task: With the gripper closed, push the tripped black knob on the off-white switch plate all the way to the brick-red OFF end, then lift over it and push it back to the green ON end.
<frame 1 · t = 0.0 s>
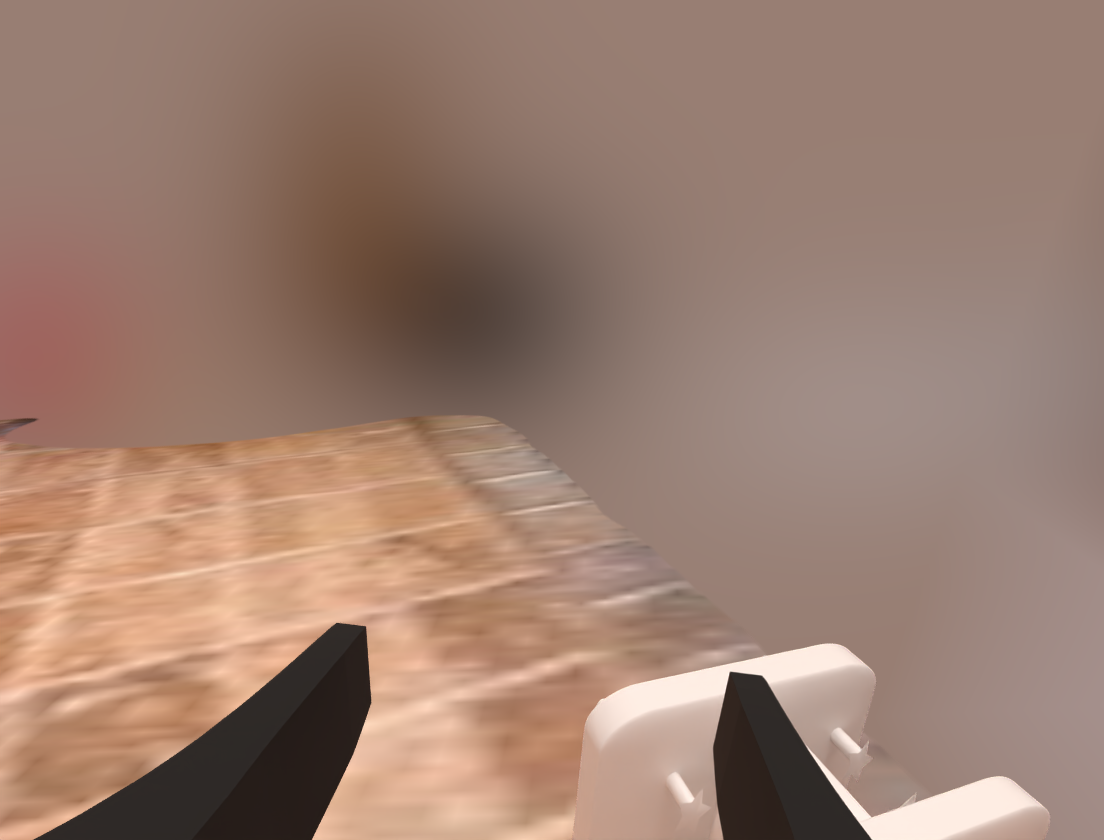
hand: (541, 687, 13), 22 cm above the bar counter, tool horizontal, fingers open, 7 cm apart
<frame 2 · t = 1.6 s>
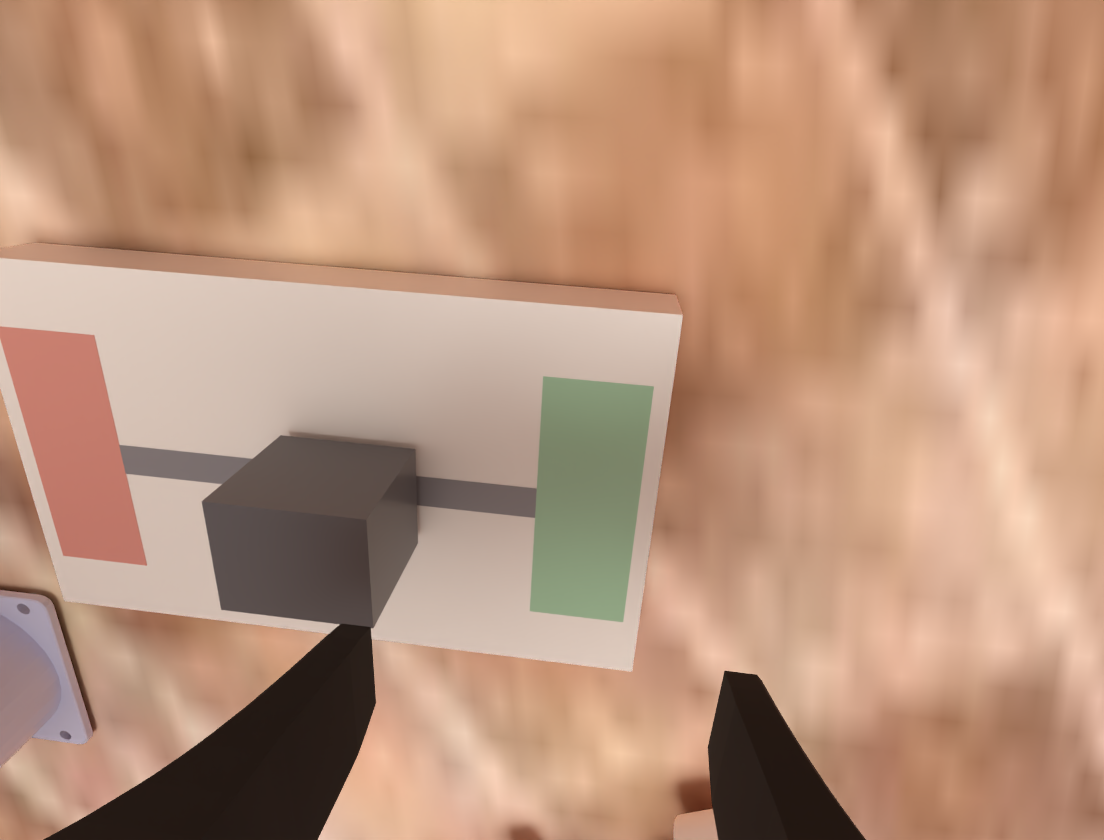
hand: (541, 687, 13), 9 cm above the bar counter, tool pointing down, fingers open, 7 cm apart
switch plate: (355, 445, 22), on the bar counter
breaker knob: (323, 524, 17), point 5 cm above the bar counter, slide at 3.0 cm
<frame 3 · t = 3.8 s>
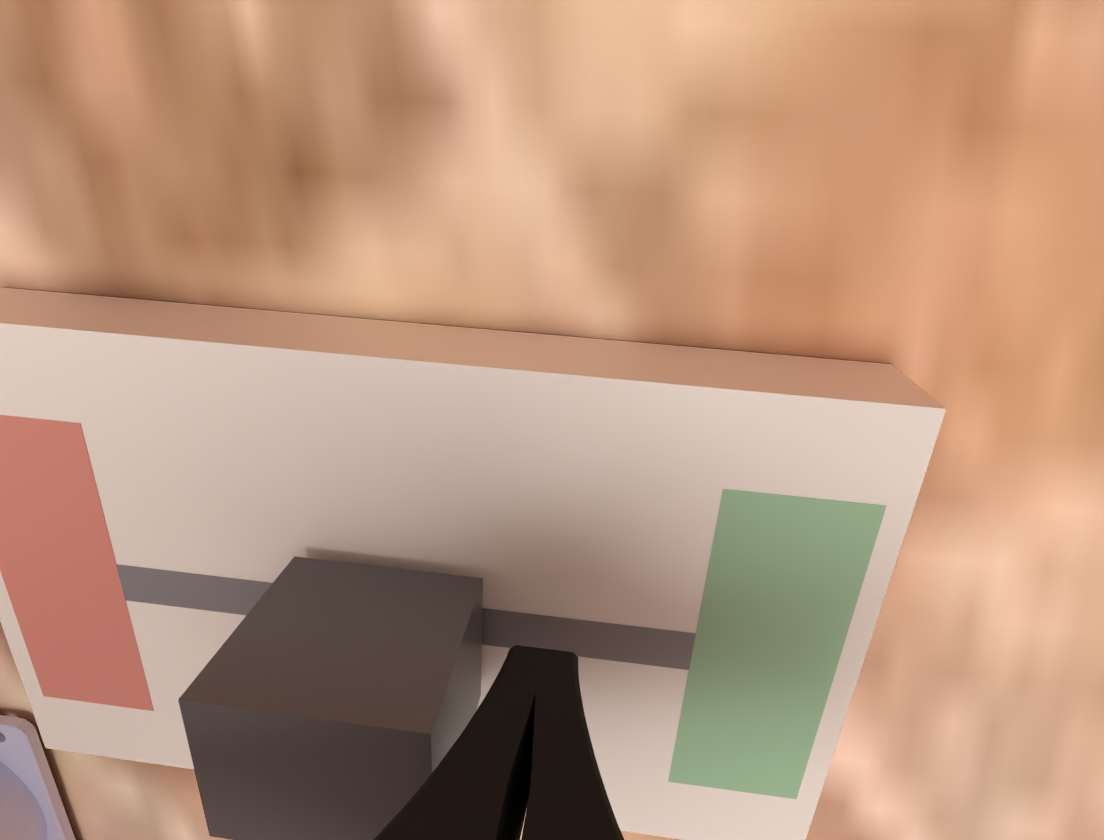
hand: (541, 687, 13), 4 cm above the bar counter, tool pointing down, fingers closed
switch plate: (428, 550, 17), on the bar counter
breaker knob: (357, 696, 12), point 5 cm above the bar counter, slide at 2.0 cm, touching gripper
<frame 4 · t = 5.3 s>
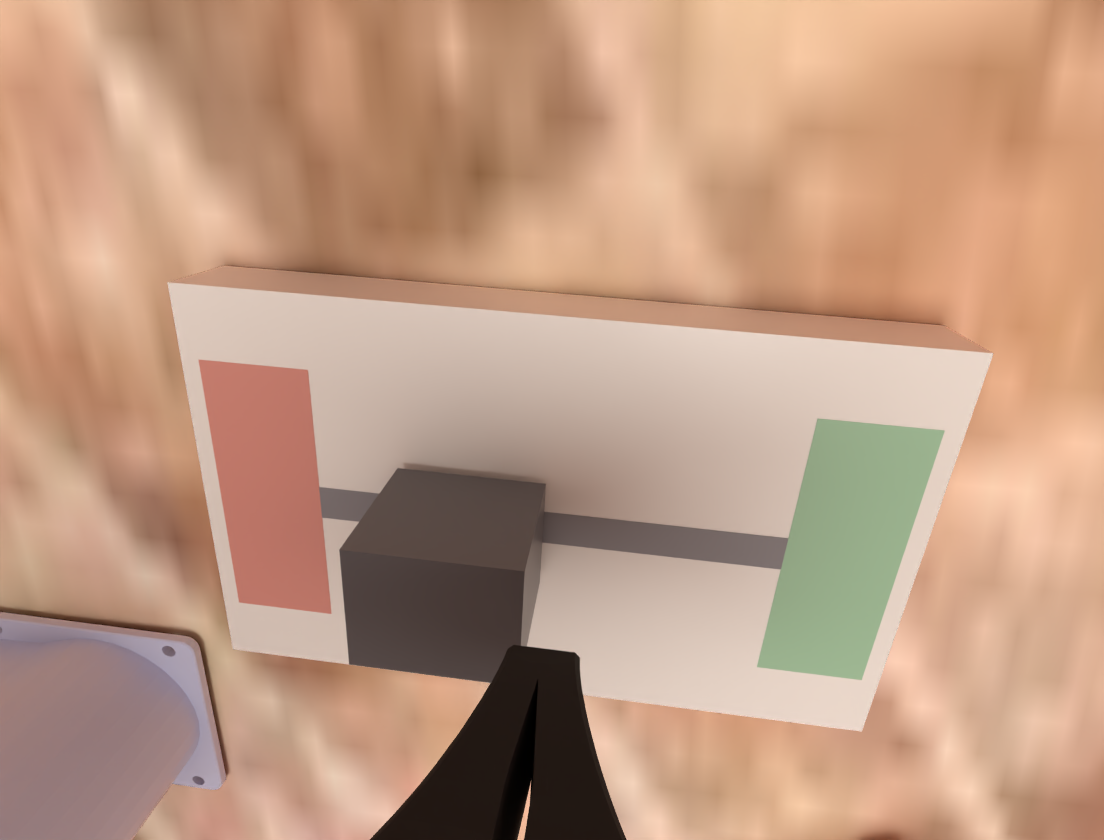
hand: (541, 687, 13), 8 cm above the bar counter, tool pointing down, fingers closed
switch plate: (555, 484, 20), on the bar counter
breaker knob: (453, 568, 16), point 5 cm above the bar counter, slide at -0.1 cm
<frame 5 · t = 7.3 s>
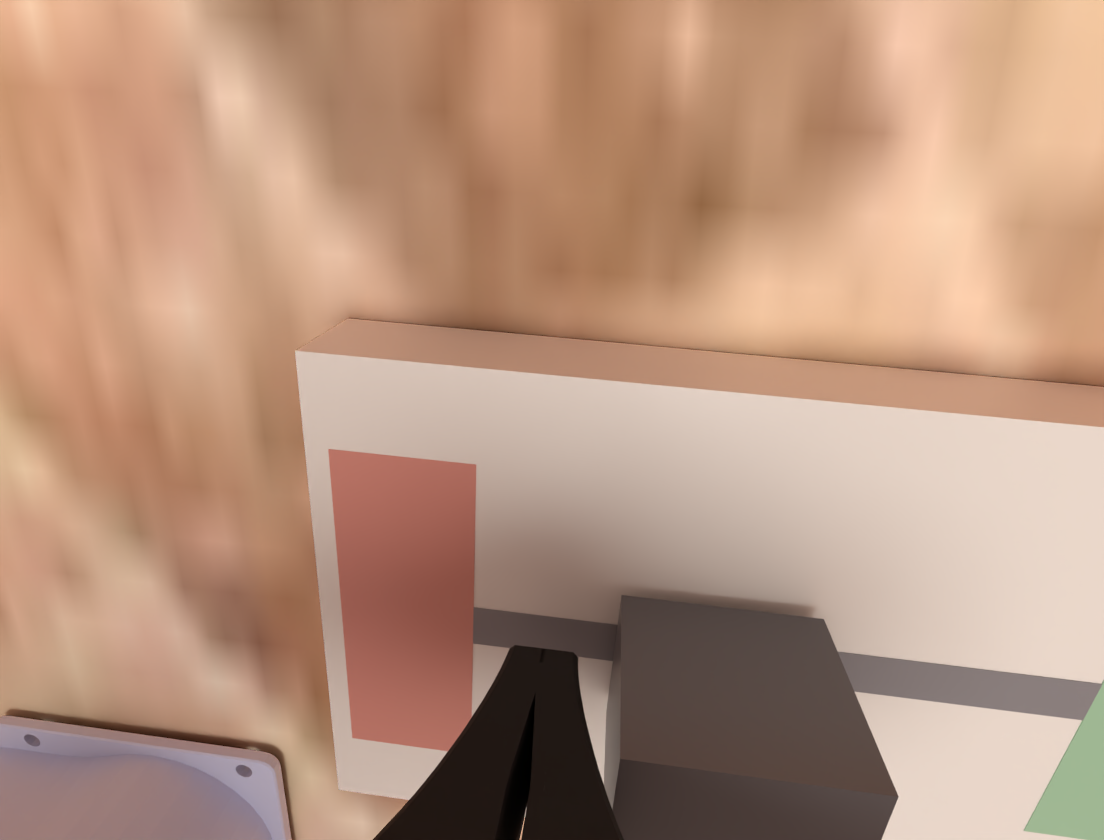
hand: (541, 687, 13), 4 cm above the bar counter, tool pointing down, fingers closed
switch plate: (751, 588, 16), on the bar counter
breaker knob: (721, 745, 12), point 5 cm above the bar counter, slide at 0.6 cm, touching gripper
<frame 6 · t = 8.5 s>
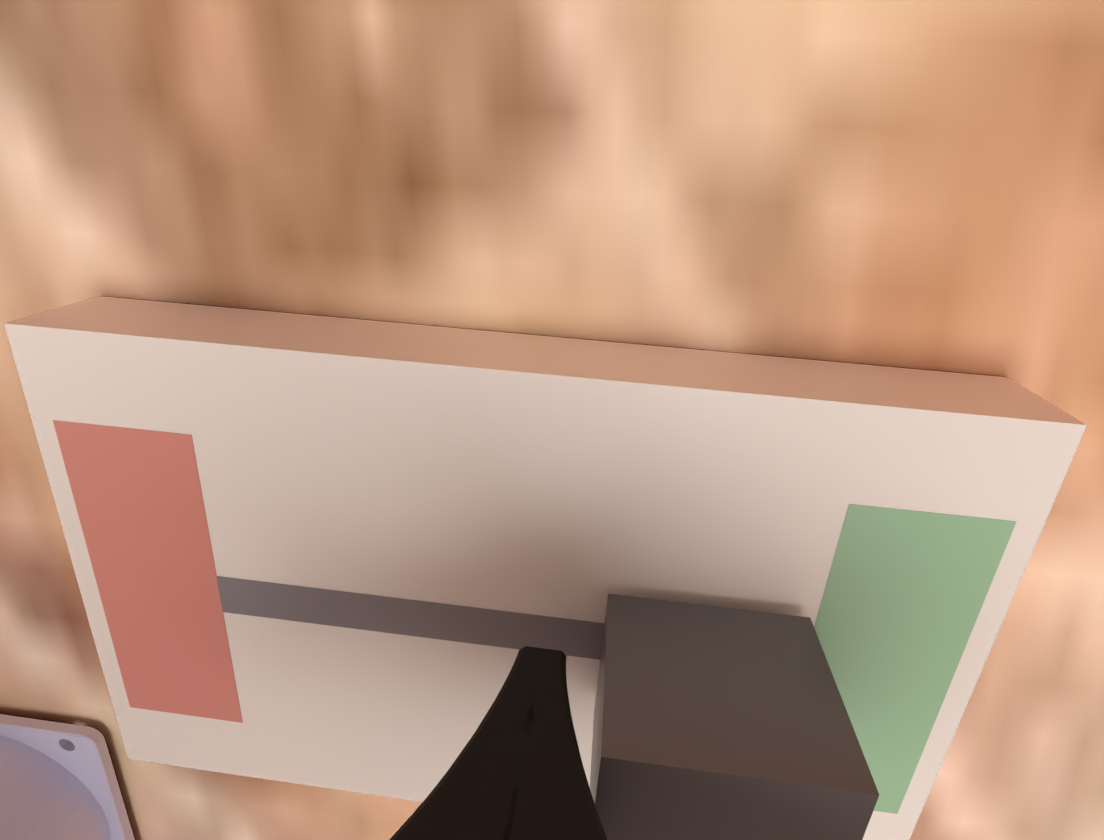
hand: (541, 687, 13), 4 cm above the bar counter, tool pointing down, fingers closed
switch plate: (519, 561, 16), on the bar counter
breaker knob: (706, 743, 12), point 5 cm above the bar counter, slide at 6.2 cm, touching gripper
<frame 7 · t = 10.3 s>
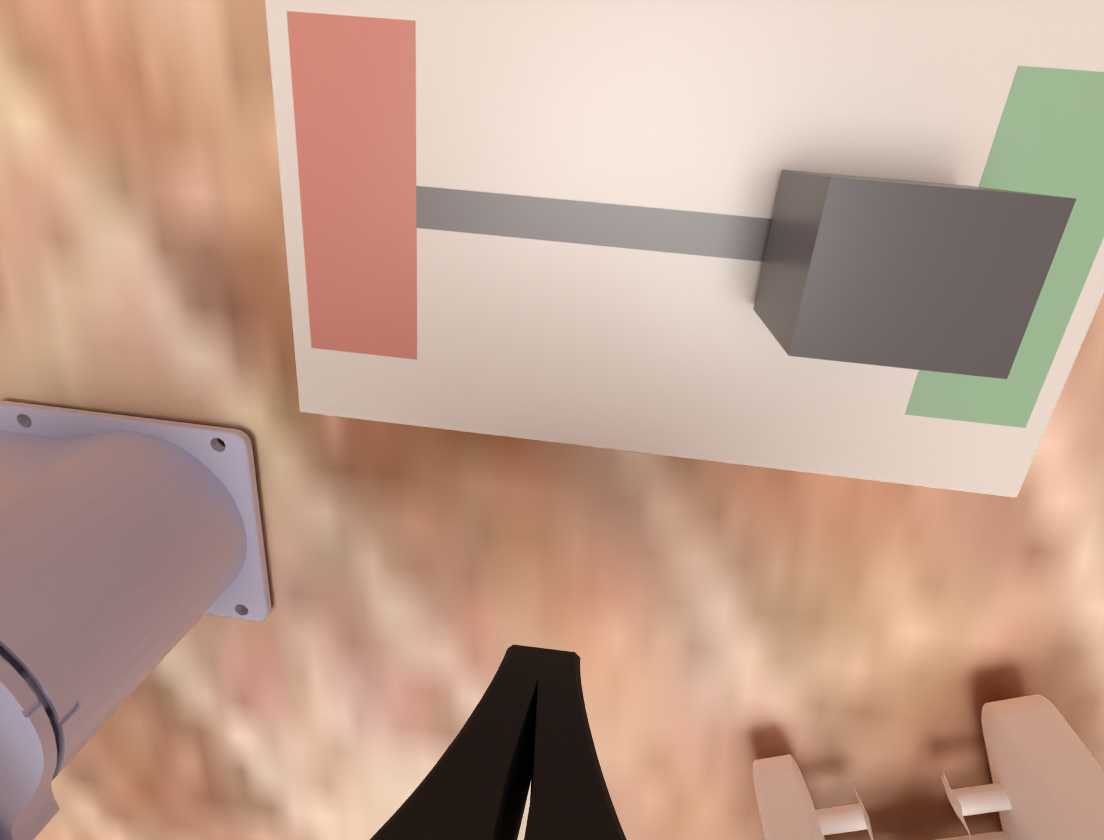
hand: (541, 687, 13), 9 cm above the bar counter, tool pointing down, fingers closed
cable organizer: (910, 814, 26), on the bar counter
switch plate: (671, 220, 18), on the bar counter
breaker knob: (884, 264, 13), point 5 cm above the bar counter, slide at 6.1 cm
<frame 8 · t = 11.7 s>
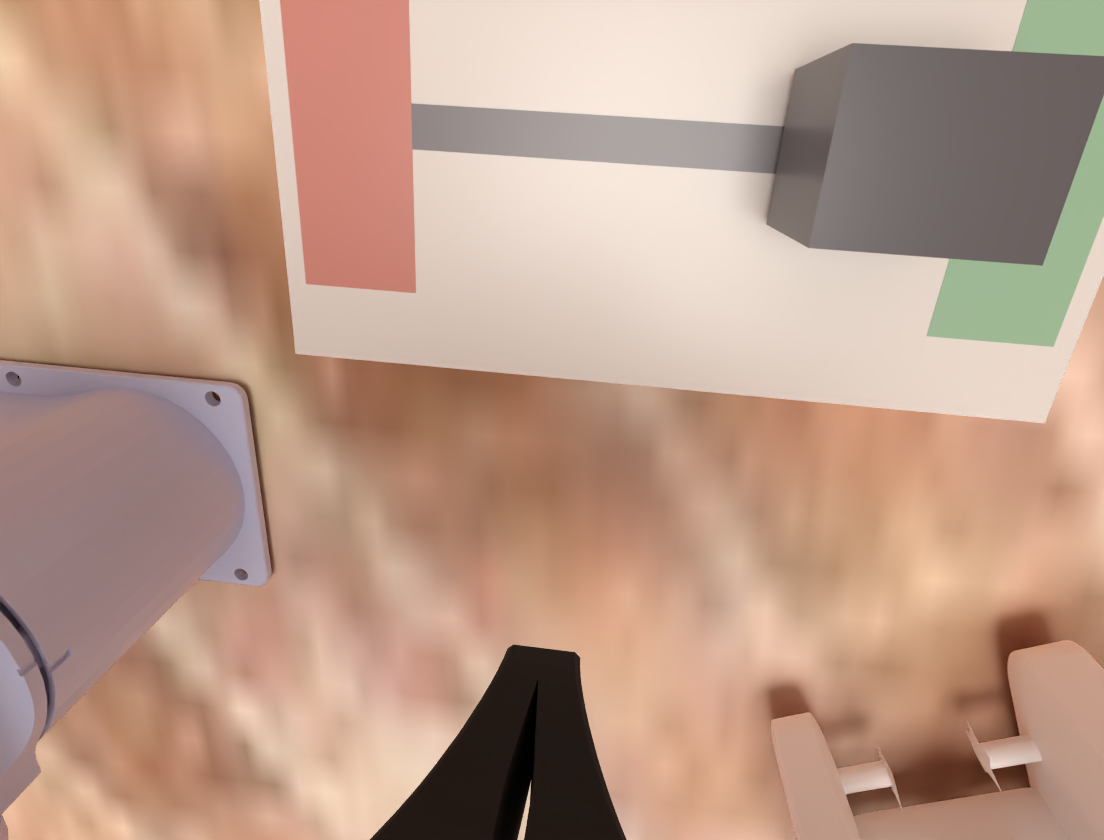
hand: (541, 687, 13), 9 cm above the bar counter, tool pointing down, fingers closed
cable organizer: (933, 775, 25), on the bar counter
switch plate: (678, 144, 17), on the bar counter
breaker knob: (906, 157, 12), point 5 cm above the bar counter, slide at 6.1 cm
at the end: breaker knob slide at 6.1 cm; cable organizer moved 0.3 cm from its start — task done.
